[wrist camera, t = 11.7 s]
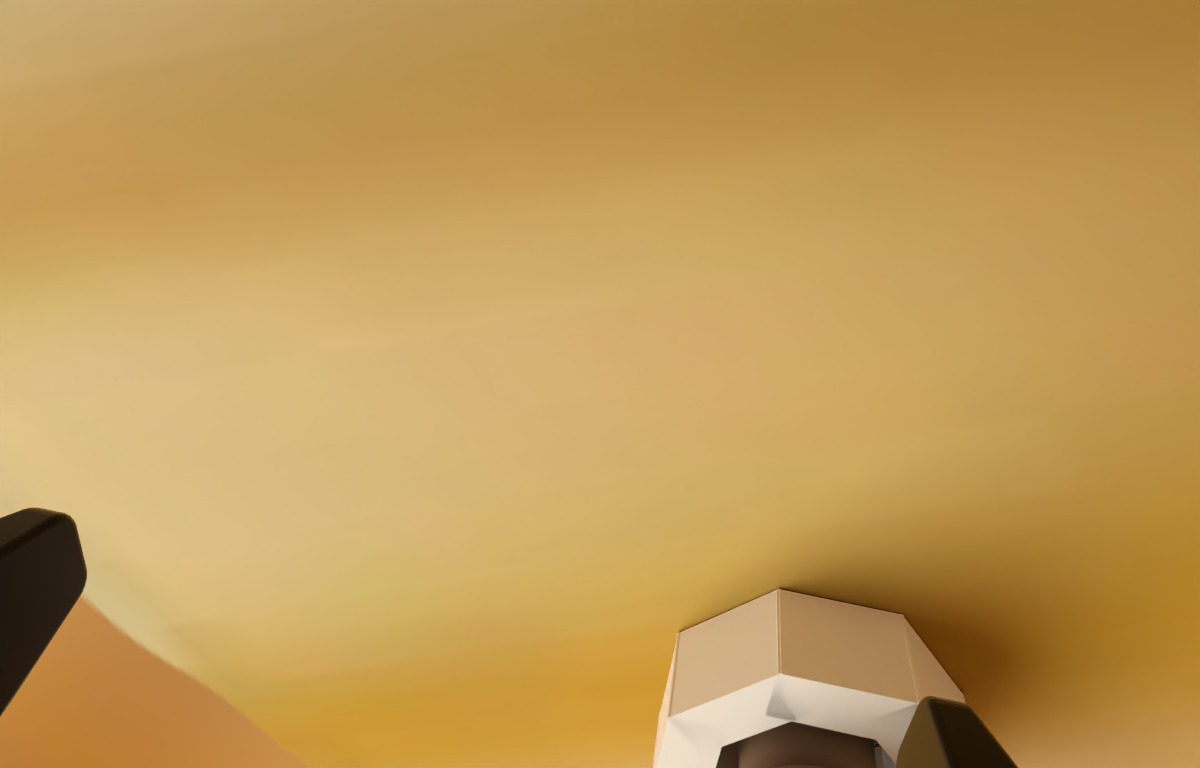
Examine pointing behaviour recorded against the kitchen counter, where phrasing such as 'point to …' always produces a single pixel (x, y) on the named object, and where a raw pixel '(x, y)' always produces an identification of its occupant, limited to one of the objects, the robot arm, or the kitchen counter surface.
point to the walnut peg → (805, 748)
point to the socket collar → (793, 678)
